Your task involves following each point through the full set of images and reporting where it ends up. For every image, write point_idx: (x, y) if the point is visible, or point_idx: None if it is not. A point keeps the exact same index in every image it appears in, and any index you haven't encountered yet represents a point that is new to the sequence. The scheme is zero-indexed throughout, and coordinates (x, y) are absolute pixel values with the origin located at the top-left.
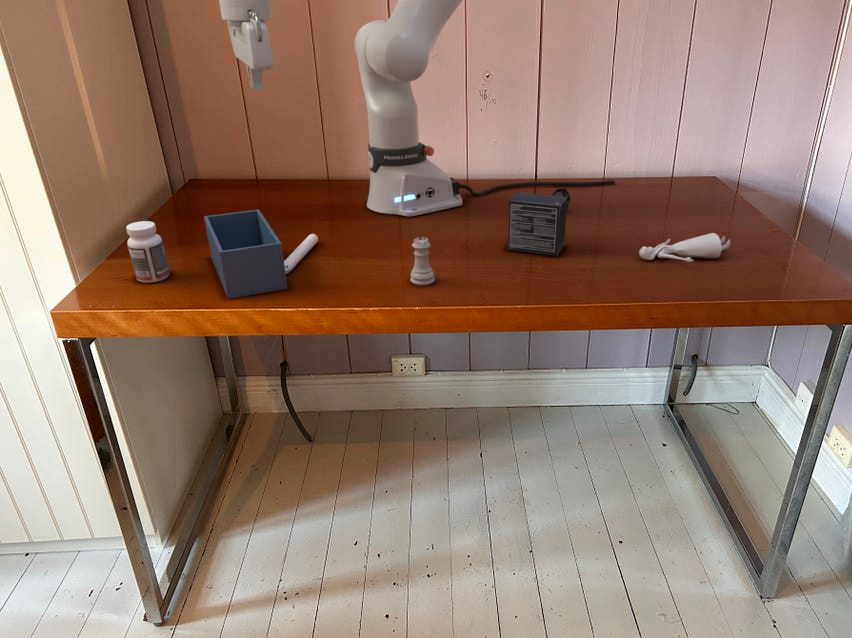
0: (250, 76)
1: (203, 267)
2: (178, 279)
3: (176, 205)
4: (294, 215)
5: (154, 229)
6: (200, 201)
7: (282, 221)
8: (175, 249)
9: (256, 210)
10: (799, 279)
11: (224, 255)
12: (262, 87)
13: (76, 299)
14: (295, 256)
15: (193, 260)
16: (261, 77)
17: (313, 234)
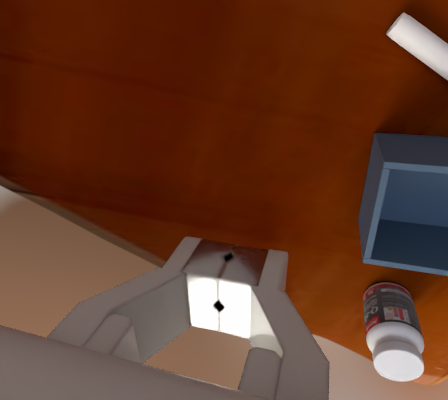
0: (171, 334)
1: None
2: (418, 276)
3: (85, 202)
4: (190, 22)
5: (414, 349)
6: (71, 167)
7: (218, 57)
8: (283, 249)
9: (388, 168)
10: None
11: None
12: (286, 263)
13: None
14: None
15: (347, 241)
16: (298, 321)
17: (401, 23)
